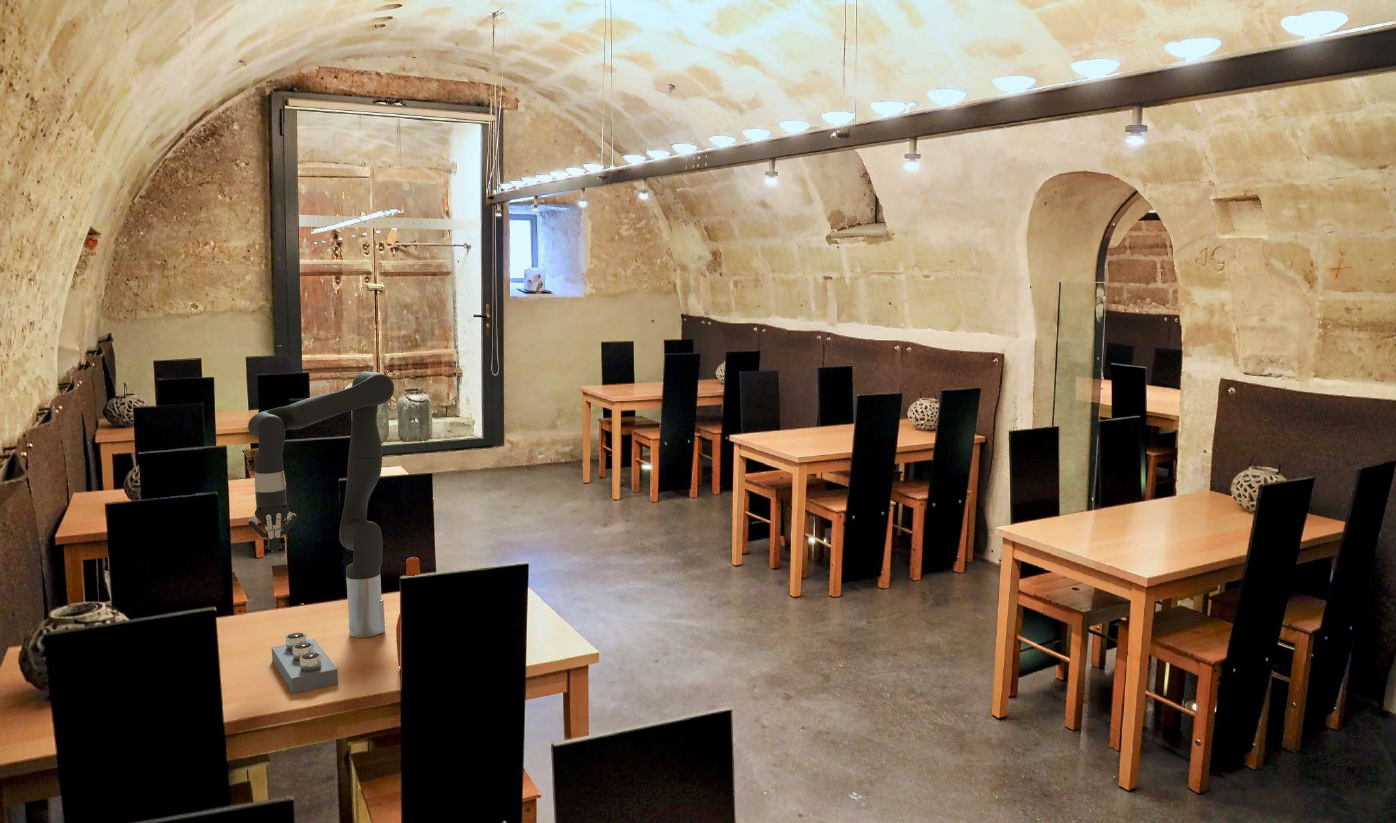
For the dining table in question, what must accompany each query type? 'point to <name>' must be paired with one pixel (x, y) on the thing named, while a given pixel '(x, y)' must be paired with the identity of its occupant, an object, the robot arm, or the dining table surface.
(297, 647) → the knob
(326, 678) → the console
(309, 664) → the knob
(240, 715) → the dining table surface
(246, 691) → the dining table surface
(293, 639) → the knob
